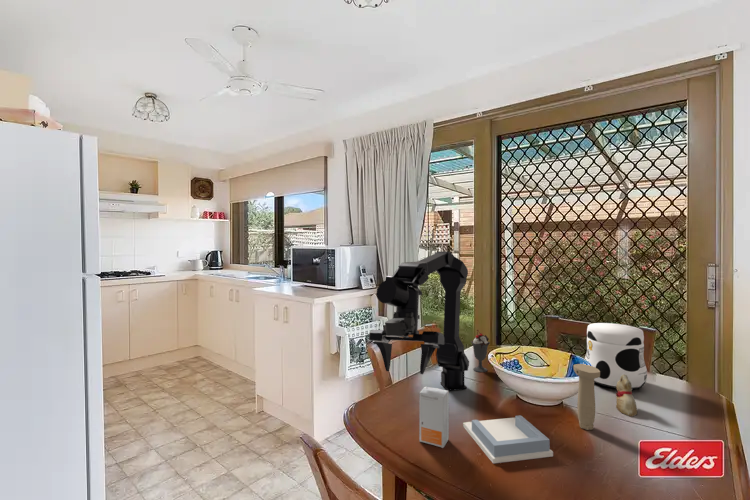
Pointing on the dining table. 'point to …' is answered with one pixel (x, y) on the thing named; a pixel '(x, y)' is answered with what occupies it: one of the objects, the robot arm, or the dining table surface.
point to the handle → (586, 394)
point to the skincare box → (434, 416)
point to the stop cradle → (509, 439)
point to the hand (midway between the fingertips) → (404, 372)
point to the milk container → (616, 353)
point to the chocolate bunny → (625, 397)
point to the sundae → (480, 350)
